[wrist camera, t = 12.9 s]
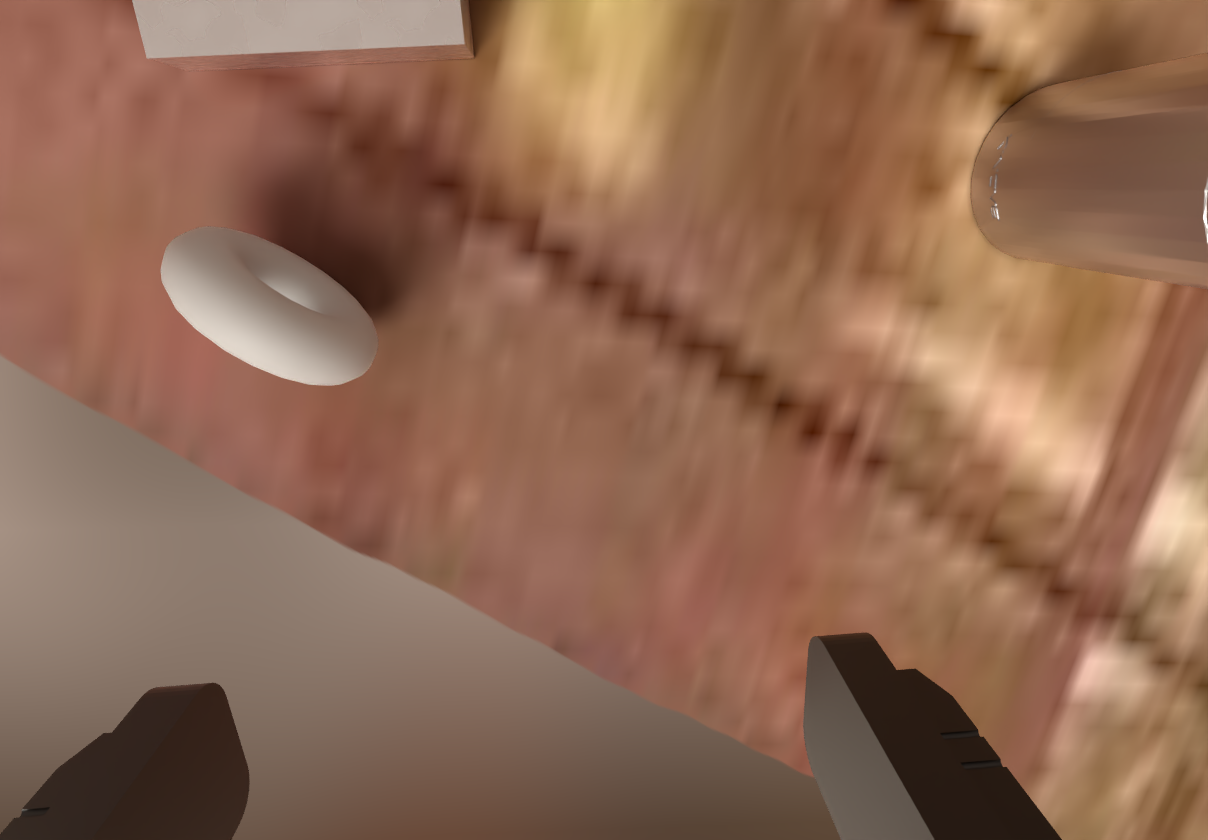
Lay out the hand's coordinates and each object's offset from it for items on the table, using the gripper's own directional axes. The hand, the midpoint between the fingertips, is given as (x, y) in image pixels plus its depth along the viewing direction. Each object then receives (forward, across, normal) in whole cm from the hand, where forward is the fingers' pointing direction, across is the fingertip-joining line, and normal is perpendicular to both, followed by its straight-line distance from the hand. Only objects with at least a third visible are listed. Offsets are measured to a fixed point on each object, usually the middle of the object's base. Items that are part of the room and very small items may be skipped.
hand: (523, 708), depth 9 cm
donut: (+30, +13, -2) cm, 33 cm away
